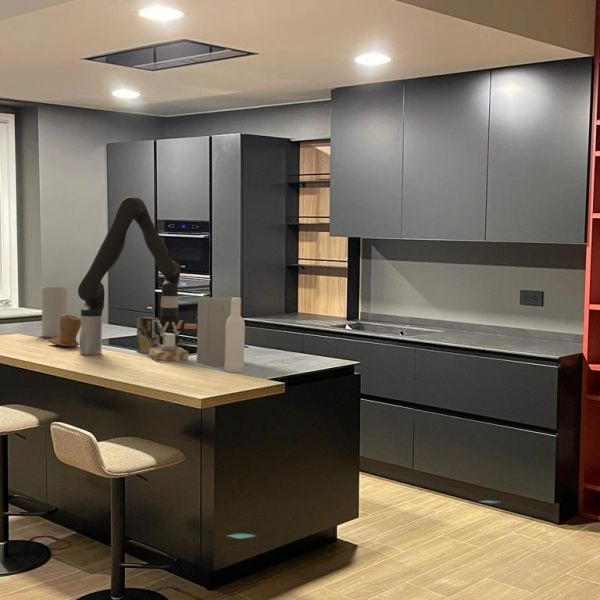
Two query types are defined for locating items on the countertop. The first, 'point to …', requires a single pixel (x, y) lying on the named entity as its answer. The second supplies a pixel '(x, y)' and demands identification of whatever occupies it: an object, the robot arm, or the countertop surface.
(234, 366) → the bottle
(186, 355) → the socket block
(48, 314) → the cylinder vase
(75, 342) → the brown boot-shaped piece
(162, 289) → the robot arm
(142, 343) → the coffee box
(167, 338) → the plug
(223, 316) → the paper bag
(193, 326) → the bar
